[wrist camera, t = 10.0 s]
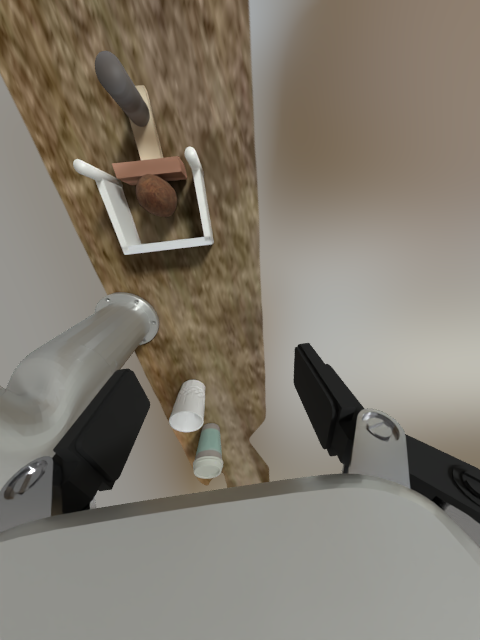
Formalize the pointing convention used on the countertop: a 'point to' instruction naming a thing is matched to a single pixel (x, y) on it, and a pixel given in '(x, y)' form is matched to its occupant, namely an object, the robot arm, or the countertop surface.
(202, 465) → the coffee cup
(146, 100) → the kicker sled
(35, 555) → the robot arm
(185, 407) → the white cup
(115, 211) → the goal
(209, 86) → the countertop surface
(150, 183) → the coconut
